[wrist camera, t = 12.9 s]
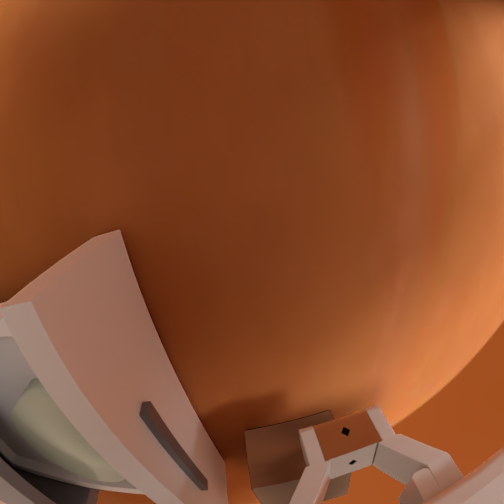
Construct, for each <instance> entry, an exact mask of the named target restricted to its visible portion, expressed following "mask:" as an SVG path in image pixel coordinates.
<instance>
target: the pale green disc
mask: <svg viewBox="0 0 504 504" xmlns="http://www.w3.org/2000/svg"><path fill="white" fill-rule="evenodd" d="M11 419H12V422H13V424H14V426H15V428H16V429H17V431H18V432H19V433H20V435H21V436H22V437H23V438H24V439H25V441H26V442H27V443H28V444H29V445H30V446H32V447H33V448H34V449H35V450H36V451H37V452H39V453H40V454H41V455H43V456H44V457H45V458H47V459H48V460H50V461H51V462H53V463H55V464H56V465H58V466H60V467H62V468H64V469H66V470H68V471H70V472H72V473H74V474H77V475H79V476H82V477H85V478H89V479H92V480H96V481H102V482H119V481H122V480H124V479H125V478H124V477H123V476H122V475H121V474H120V473H118V472H117V471H116V470H115V469H114V468H113V467H112V466H111V465H110V464H109V463H108V462H107V461H106V460H105V459H104V458H103V457H102V456H101V455H100V454H99V453H98V452H97V451H96V450H95V449H94V448H93V447H92V446H91V445H90V444H89V443H88V442H87V441H86V439H85V438H84V437H83V436H82V435H81V434H80V433H79V432H78V430H77V429H76V428H75V427H74V426H73V425H72V423H71V422H70V421H69V420H68V419H67V417H66V416H65V415H64V414H63V412H62V411H61V410H60V408H59V407H58V406H57V405H56V403H55V402H54V401H53V399H52V398H51V396H50V395H49V394H48V392H47V391H46V390H45V388H44V387H43V385H42V384H41V382H40V381H39V379H38V378H35V379H33V380H31V381H30V382H29V384H28V385H27V387H26V389H25V390H24V392H23V393H22V395H21V397H20V398H19V400H18V402H17V403H16V405H15V407H14V408H13V410H12V412H11Z"/></svg>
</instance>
